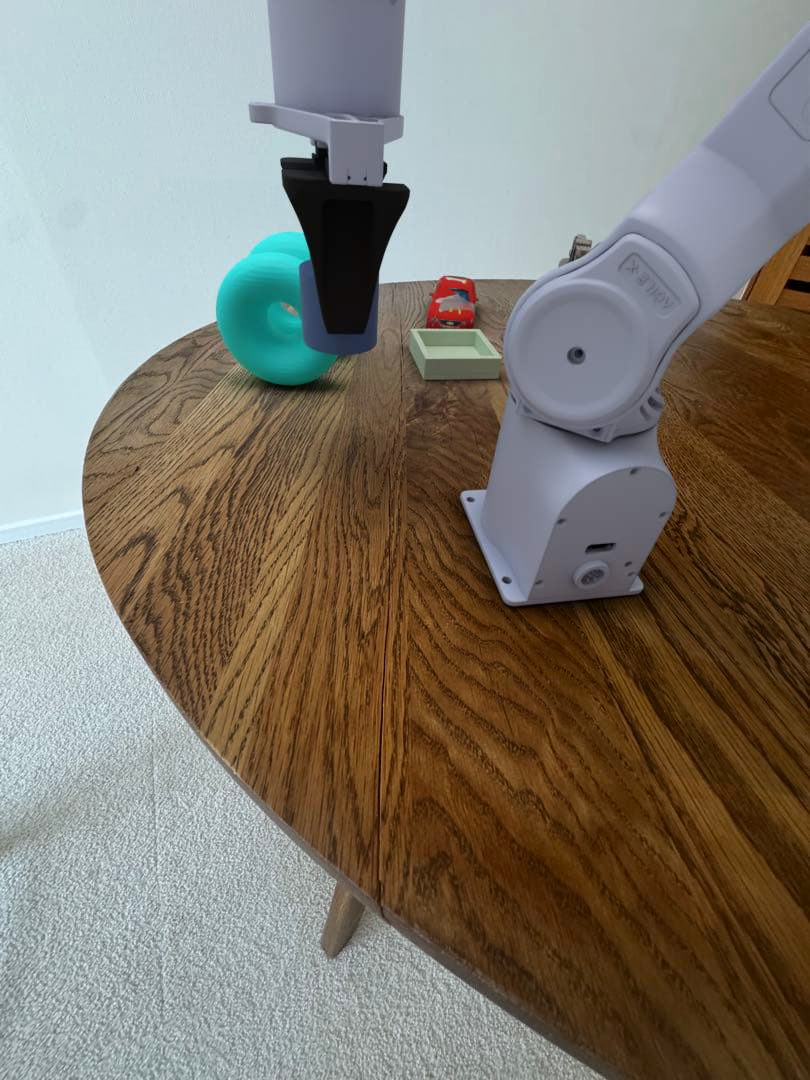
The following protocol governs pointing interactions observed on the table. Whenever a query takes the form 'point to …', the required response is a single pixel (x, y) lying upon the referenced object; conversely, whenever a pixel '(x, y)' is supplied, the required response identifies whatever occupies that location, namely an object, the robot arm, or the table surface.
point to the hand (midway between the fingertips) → (340, 316)
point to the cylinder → (314, 323)
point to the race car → (452, 304)
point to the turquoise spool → (269, 313)
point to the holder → (454, 354)
